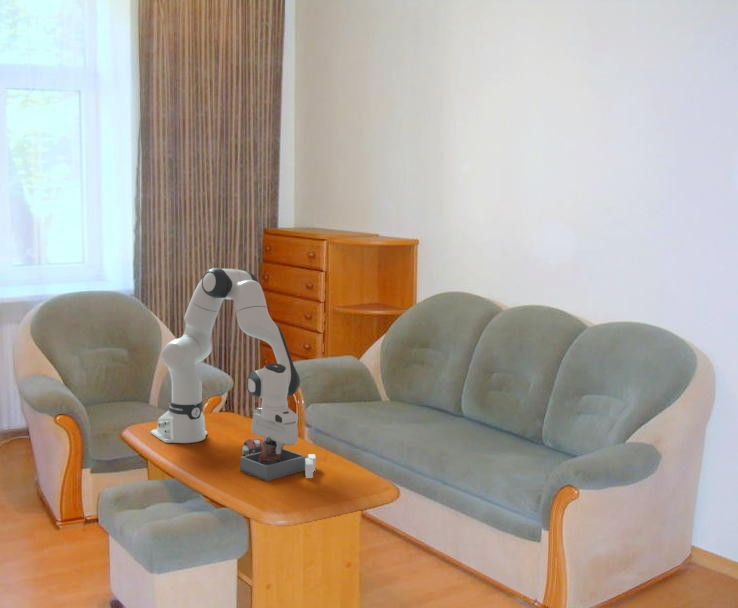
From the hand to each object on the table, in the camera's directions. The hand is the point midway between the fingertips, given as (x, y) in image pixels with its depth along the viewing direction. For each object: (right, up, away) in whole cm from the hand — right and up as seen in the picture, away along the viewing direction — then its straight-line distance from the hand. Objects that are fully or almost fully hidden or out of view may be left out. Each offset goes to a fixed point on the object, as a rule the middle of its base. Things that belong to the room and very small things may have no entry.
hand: (273, 452), depth 303 cm
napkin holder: (+13, -8, +1) cm, 15 cm away
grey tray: (0, -6, +1) cm, 7 cm away
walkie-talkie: (-9, -4, +19) cm, 22 cm away
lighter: (-2, -4, +2) cm, 5 cm away
